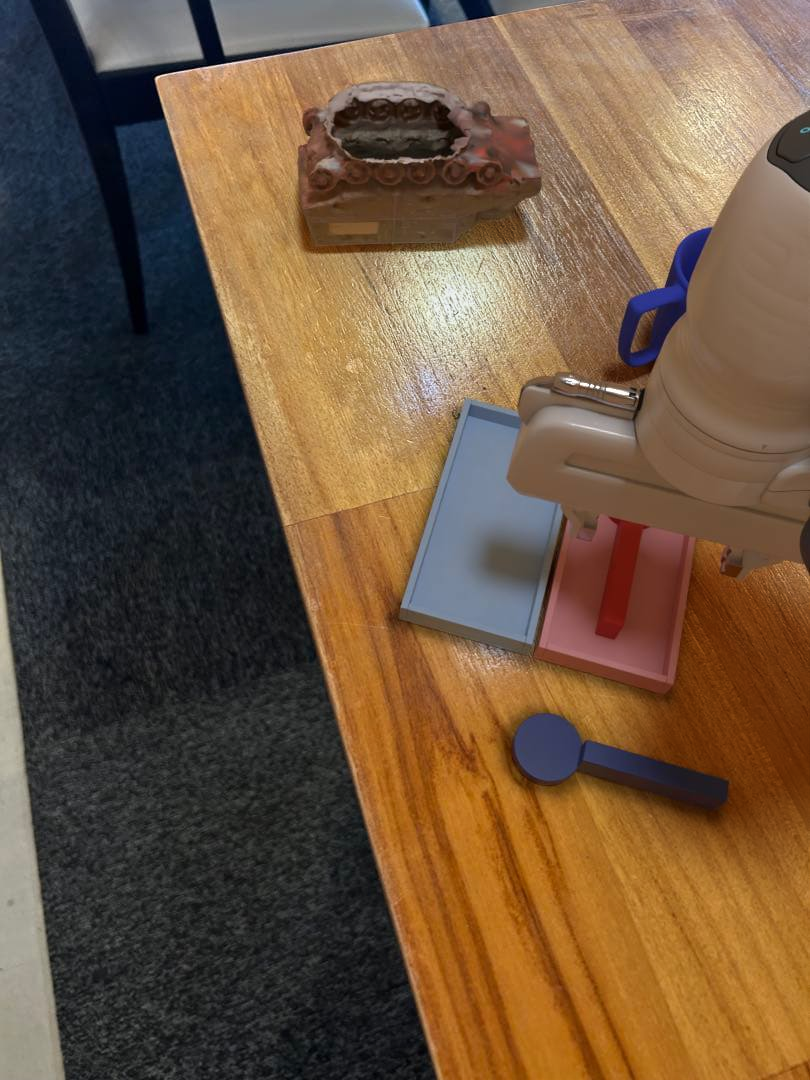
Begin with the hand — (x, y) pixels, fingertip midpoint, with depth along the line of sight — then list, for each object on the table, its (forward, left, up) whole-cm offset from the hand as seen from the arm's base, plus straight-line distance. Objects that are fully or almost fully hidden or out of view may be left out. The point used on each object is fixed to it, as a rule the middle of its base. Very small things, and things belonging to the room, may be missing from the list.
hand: (655, 548), depth 59 cm
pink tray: (+1, -3, -8) cm, 9 cm away
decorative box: (+24, -32, -8) cm, 41 cm away
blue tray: (+10, -3, -8) cm, 13 cm away
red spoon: (+1, -4, -8) cm, 9 cm away
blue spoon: (-1, +12, -8) cm, 14 cm away
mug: (0, -22, -8) cm, 24 cm away
